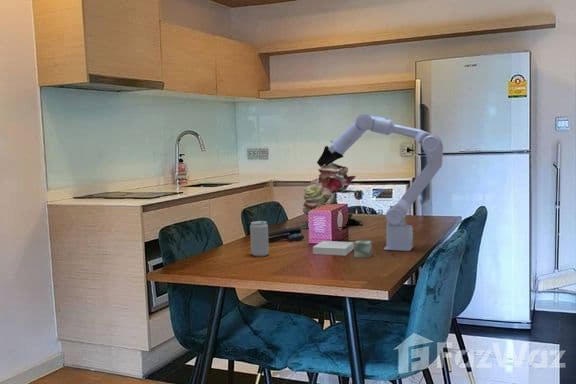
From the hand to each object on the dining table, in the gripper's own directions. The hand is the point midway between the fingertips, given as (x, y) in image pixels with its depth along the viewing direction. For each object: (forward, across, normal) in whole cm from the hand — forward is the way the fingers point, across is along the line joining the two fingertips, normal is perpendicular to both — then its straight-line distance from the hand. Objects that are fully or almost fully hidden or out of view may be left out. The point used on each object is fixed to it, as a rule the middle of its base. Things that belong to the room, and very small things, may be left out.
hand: (321, 164), depth 211 cm
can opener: (+36, -7, +10) cm, 38 cm away
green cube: (+8, +13, +36) cm, 39 cm away
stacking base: (+16, +8, +28) cm, 33 cm away
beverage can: (+35, +20, +12) cm, 42 cm away
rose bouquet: (+29, -47, +14) cm, 57 cm away
